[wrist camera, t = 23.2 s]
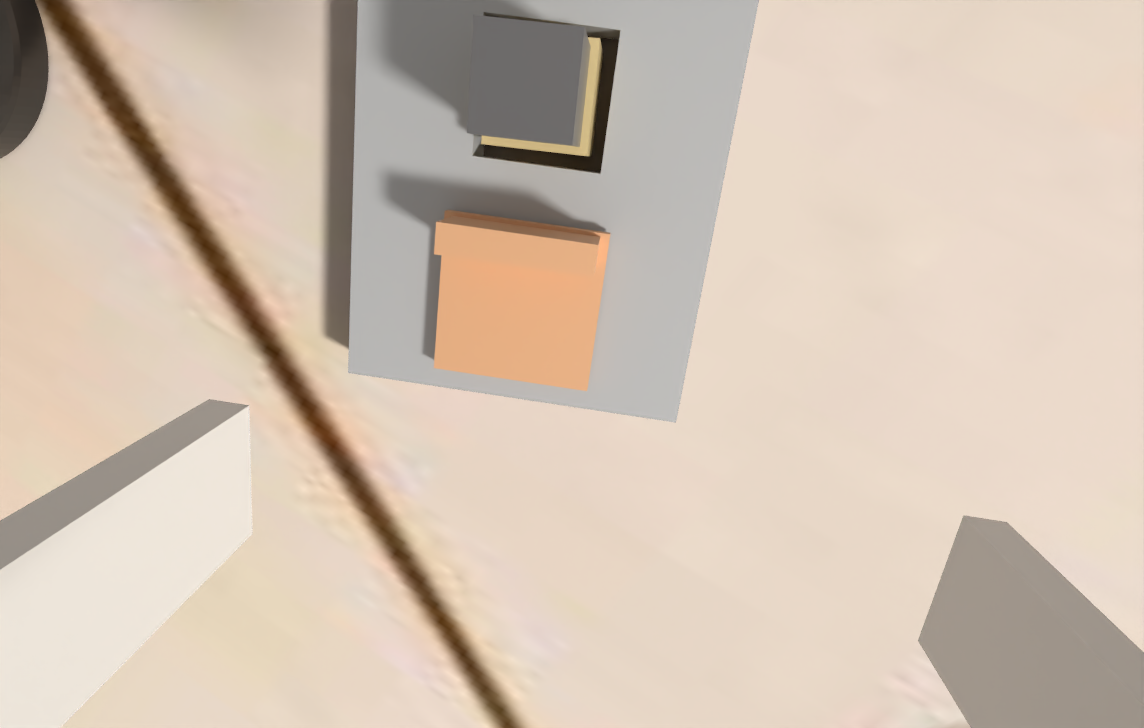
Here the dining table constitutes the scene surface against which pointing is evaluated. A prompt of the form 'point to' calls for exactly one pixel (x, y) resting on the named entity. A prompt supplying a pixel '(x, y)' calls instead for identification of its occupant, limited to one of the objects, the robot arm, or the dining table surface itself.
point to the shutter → (518, 298)
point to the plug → (534, 85)
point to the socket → (545, 185)
